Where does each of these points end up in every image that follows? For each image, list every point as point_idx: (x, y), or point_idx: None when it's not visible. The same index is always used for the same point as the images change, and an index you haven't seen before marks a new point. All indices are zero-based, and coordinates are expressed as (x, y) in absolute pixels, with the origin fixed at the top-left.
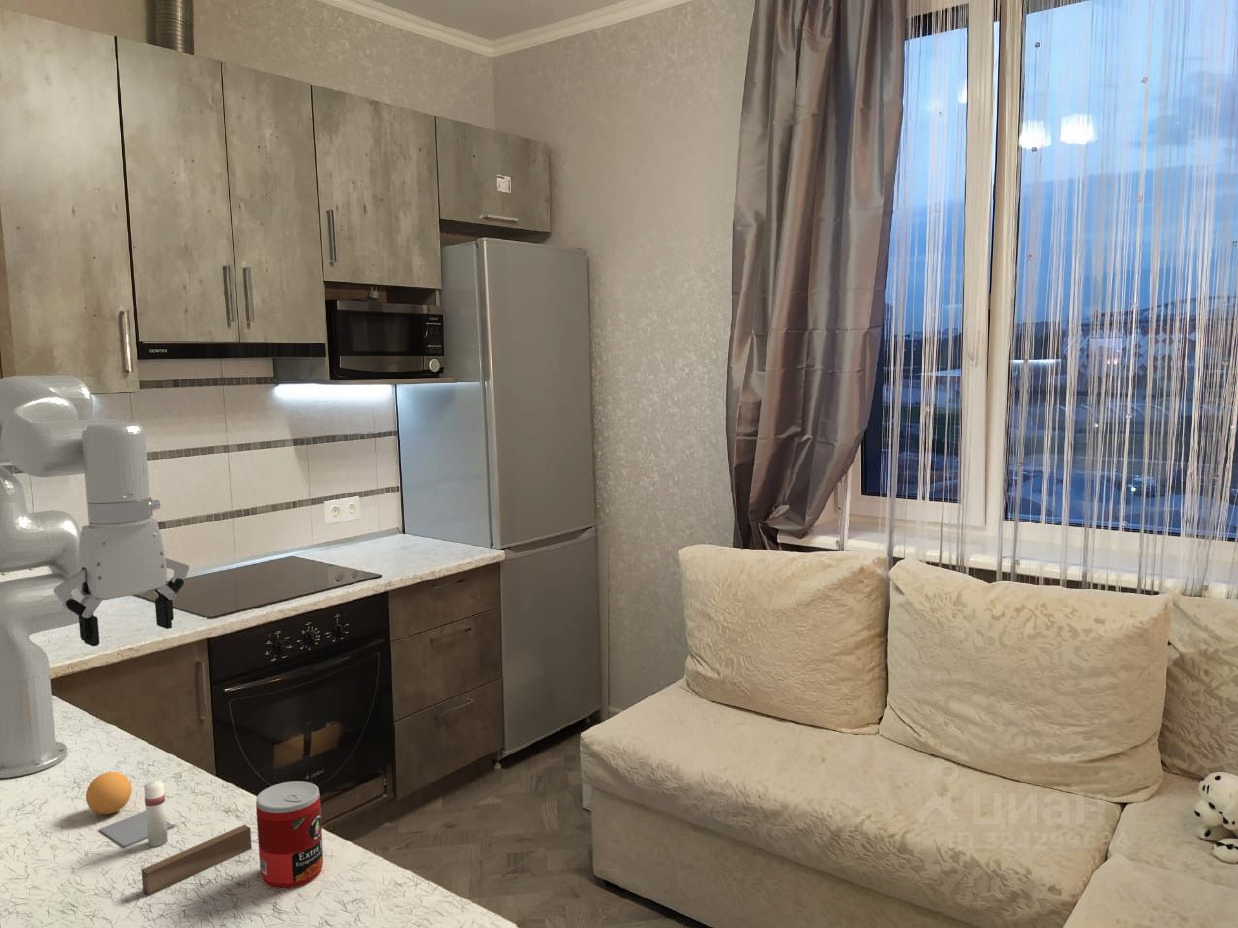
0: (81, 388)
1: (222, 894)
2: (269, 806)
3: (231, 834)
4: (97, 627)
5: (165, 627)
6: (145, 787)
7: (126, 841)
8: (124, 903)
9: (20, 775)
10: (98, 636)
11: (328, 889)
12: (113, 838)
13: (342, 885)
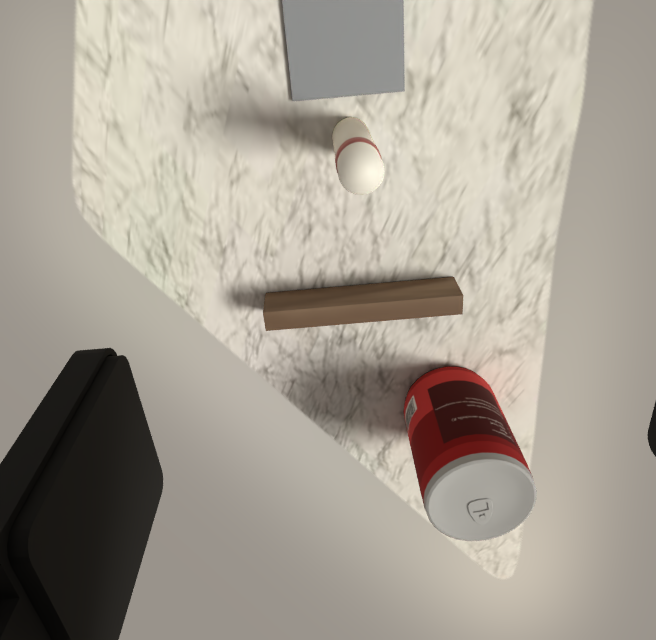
0: None
1: (349, 382)
2: (431, 518)
3: (426, 312)
4: (124, 599)
5: (650, 434)
6: (340, 170)
7: (303, 82)
8: (232, 304)
9: None
10: (147, 529)
11: None
12: (287, 40)
13: None
